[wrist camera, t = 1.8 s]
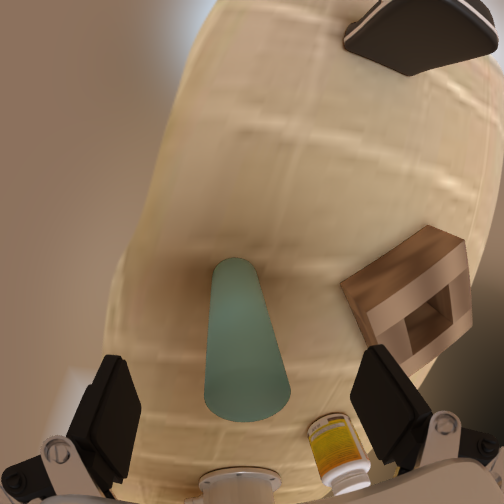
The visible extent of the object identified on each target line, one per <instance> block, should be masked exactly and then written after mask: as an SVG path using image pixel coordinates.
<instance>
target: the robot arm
mask: <svg viewBox="0 0 504 504" xmlns="http://www.w3.org/2000/svg"><path fill="white" fill-rule="evenodd" d="M350 400H351V403H352V405H353V407H354V409H355V411H356V413H357V415H358V417H359V419H360V422H361V424H362V426H363V428H364V430H365V432H366V434H367V436H368V439H369V441H370V443H371V445H372V447H373V449H374V451H375V454H376V456H377V458H378V459H379V460H382V461H383V463H384V465H386V464H389V463H392V462H394V461H395V462H396V464H397V468H396V471H395V474H394V476H393V478H392V479H389V480H386V481H383V482H380V483H378V484H375V485H371V486H368V487H365V488H362V489H359V490H355V491H352V492H348V493H344V494H341V495H337V496H333V497H329V498H324V499H319V500H314V501H309V502H304V503H298V504H504V447H502V448H501V449H500V448H499V443H498V441H497V439H496V438H495V437H494V436H493V435H490V434H486V433H482V432H478V431H474V430H470V429H466V428H462V427H461V422H460V420H459V418H458V417H457V416H456V415H455V414H453V413H452V412H449V411H439V412H437V413H435V414H434V415H433V414H432V412H431V409H430V407H429V406H428V404H427V403H426V402H425V400H424V399H423V397H422V396H421V395H420V393H419V392H418V390H417V389H416V387H415V386H414V385H413V383H412V382H411V381H410V379H409V378H408V376H407V375H406V374H405V372H404V371H403V370H402V368H401V367H400V366H399V364H398V363H397V362H396V360H395V359H394V357H393V356H392V355H391V354H390V352H389V351H388V350H387V348H386V347H385V346H384V345H383V344H378V345H372V346H369V347H368V349H367V350H365V352H364V354H363V358H362V361H361V364H360V367H359V370H358V373H357V376H356V379H355V382H354V385H353V388H352V390H351V393H350ZM140 415H141V403H140V401H139V398H138V395H137V392H136V390H135V387H134V384H133V381H132V378H131V375H130V372H129V369H128V366H127V362H126V361H125V360H122V357H121V356H117V355H105V357H104V359H103V361H102V363H101V365H100V368H99V370H98V372H97V374H96V376H95V378H94V380H93V383H92V384H91V385H88V387H87V388H86V390H85V393H84V395H83V397H82V399H81V401H80V404H79V406H78V408H77V410H76V413H75V415H74V418H73V420H72V422H71V425H70V427H69V430H68V432H67V435H66V437H64V436H58V435H56V436H52V437H49V438H47V439H46V440H45V441H44V442H43V444H42V446H41V450H40V453H41V455H38V456H36V457H33V458H31V459H28V460H26V461H23V462H21V463H18V464H16V465H13V466H10V467H8V468H7V469H5V471H4V472H3V474H2V477H1V479H2V480H1V482H2V483H1V484H0V504H138V503H132V502H126V501H121V500H118V499H117V498H116V496H115V495H114V493H113V492H112V490H111V488H112V484H113V482H115V483H120V484H122V482H123V478H127V476H128V471H129V466H130V461H131V456H132V451H133V446H134V441H135V437H136V432H137V428H138V423H139V419H140ZM281 483H282V482H281V477H280V476H279V475H278V474H277V473H275V472H273V471H271V470H267V469H261V468H251V467H239V468H228V469H221V470H216V471H213V472H210V473H208V474H205V475H204V476H203V477H201V478H200V480H199V489H200V490H201V491H202V492H203V495H200V496H199V497H193V498H186V499H185V500H184V504H275V501H274V496H273V492H274V491H276V490H277V489H278V488H279V487H280V486H281Z"/></svg>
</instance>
